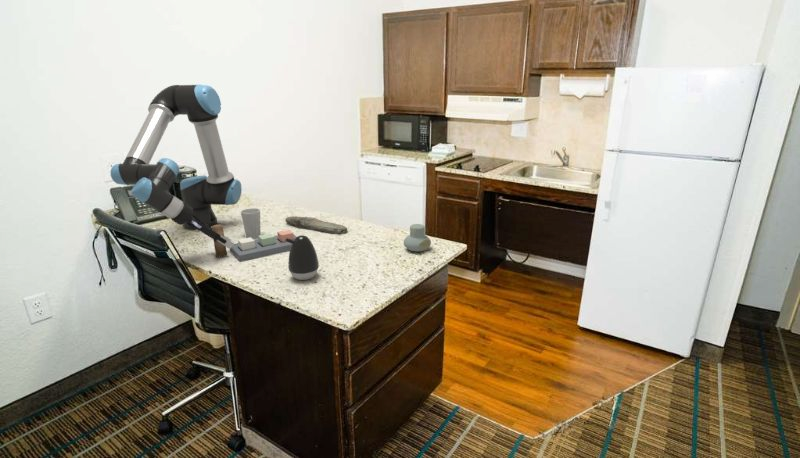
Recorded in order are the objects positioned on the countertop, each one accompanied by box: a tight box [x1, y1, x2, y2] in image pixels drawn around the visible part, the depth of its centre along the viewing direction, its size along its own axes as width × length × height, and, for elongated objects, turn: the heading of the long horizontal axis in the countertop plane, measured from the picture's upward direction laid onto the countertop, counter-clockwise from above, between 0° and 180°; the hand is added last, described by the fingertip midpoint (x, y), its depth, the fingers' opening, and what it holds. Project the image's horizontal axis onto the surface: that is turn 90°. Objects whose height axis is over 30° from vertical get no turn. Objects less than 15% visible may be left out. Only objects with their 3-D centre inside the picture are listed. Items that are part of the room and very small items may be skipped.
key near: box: [237, 237, 255, 251], centre depth 169 cm, size 5×5×3 cm
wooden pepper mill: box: [212, 224, 228, 258], centre depth 166 cm, size 4×4×12 cm
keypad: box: [229, 234, 298, 262], centre depth 174 cm, size 14×26×2 cm, turn 126°
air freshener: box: [403, 223, 432, 253], centre depth 172 cm, size 11×8×10 cm
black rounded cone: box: [286, 234, 320, 281], centre depth 147 cm, size 10×10×15 cm
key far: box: [276, 229, 295, 242], centre depth 178 cm, size 5×5×3 cm
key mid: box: [258, 233, 275, 246], centre depth 173 cm, size 5×5×3 cm
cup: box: [240, 207, 262, 240], centre depth 187 cm, size 8×8×12 cm
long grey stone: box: [284, 215, 348, 235], centre depth 201 cm, size 35×5×10 cm
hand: (230, 244), depth 169 cm, fingers closed on wooden pepper mill, 4 cm apart
